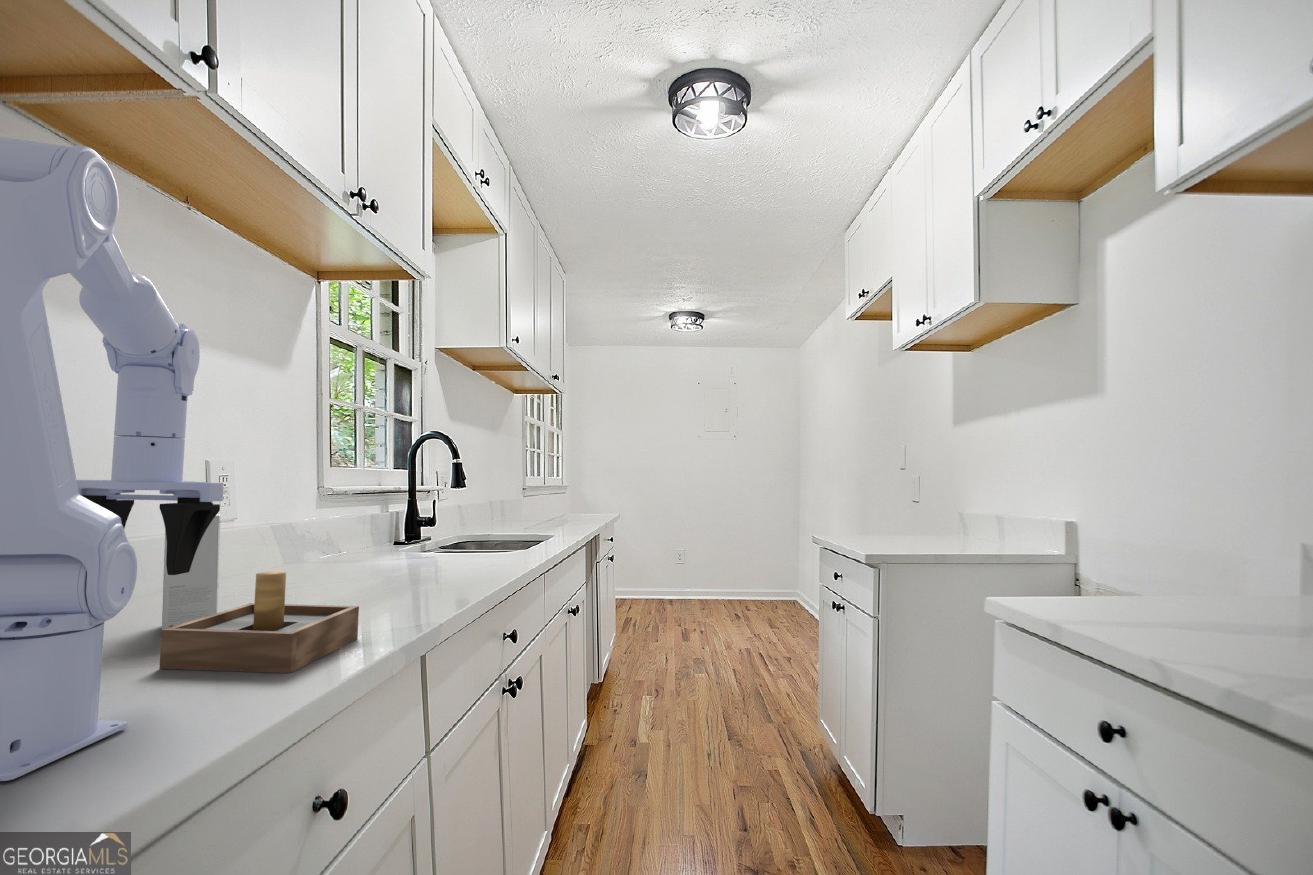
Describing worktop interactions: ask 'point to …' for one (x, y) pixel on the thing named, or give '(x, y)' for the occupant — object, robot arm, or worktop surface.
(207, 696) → the worktop surface
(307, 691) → the worktop surface
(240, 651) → the tray
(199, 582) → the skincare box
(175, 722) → the worktop surface
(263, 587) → the peg
